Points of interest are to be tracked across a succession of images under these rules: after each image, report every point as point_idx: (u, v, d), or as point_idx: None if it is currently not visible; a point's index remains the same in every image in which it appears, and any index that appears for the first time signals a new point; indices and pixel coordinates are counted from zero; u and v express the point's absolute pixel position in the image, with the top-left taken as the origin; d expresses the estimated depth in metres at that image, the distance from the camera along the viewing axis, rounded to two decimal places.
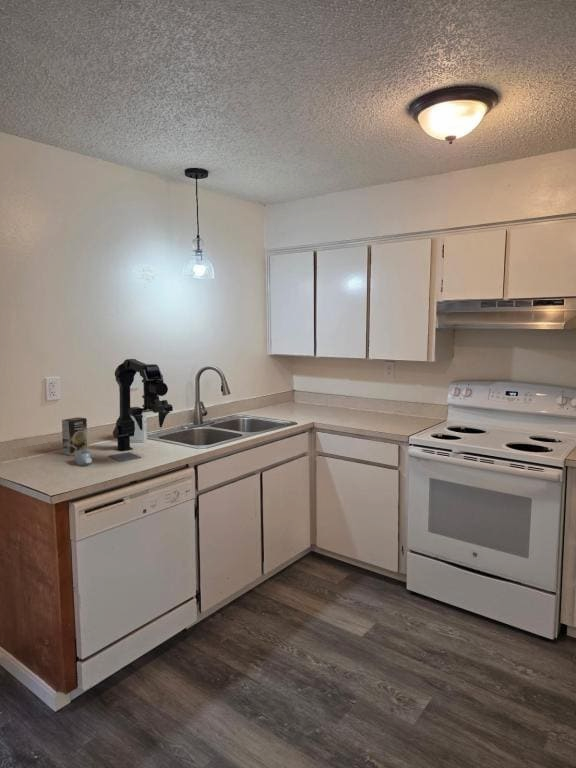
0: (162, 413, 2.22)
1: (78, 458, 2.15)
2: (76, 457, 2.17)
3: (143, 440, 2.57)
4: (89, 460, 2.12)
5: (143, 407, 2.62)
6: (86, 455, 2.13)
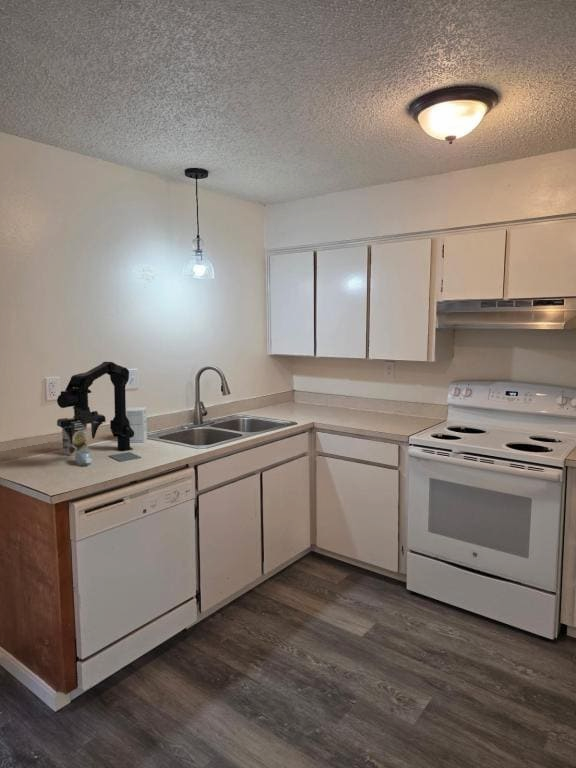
0: (94, 424, 2.18)
1: (78, 458, 2.15)
2: (76, 457, 2.17)
3: (143, 440, 2.57)
4: (89, 460, 2.12)
5: (143, 407, 2.62)
6: (86, 455, 2.13)
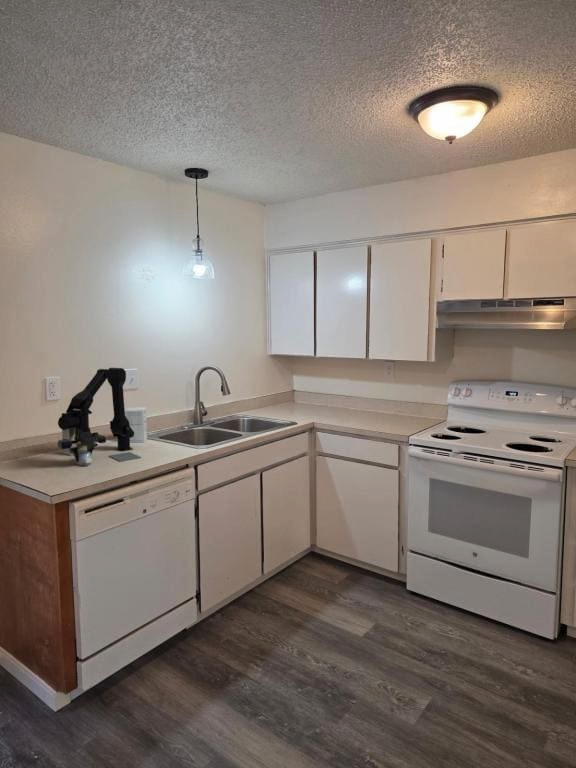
0: (90, 446, 2.18)
1: (78, 458, 2.15)
2: None
3: (143, 440, 2.57)
4: (89, 460, 2.12)
5: (143, 407, 2.62)
6: (86, 455, 2.13)
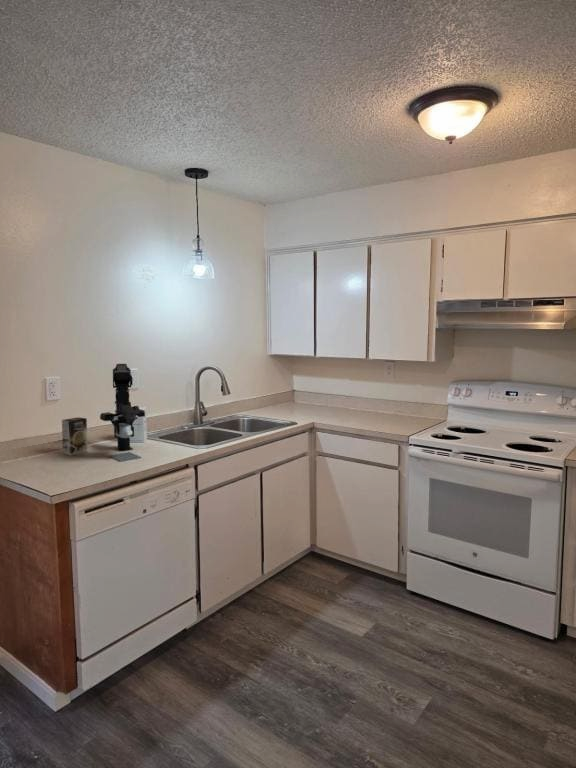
0: (130, 419, 2.27)
1: (119, 430, 2.24)
2: None
3: (143, 440, 2.57)
4: (130, 432, 2.22)
5: (143, 407, 2.62)
6: (127, 427, 2.23)
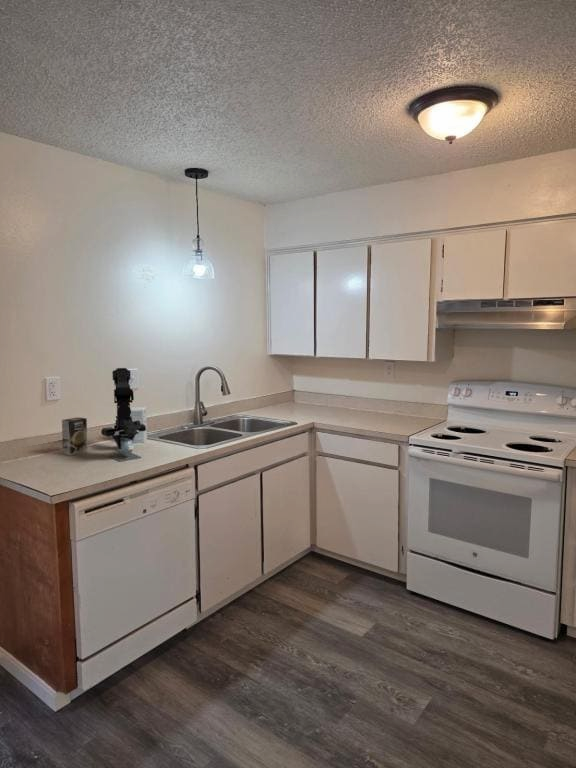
0: (131, 433, 2.28)
1: None
2: None
3: (143, 440, 2.57)
4: (131, 447, 2.23)
5: (143, 407, 2.62)
6: (128, 442, 2.24)
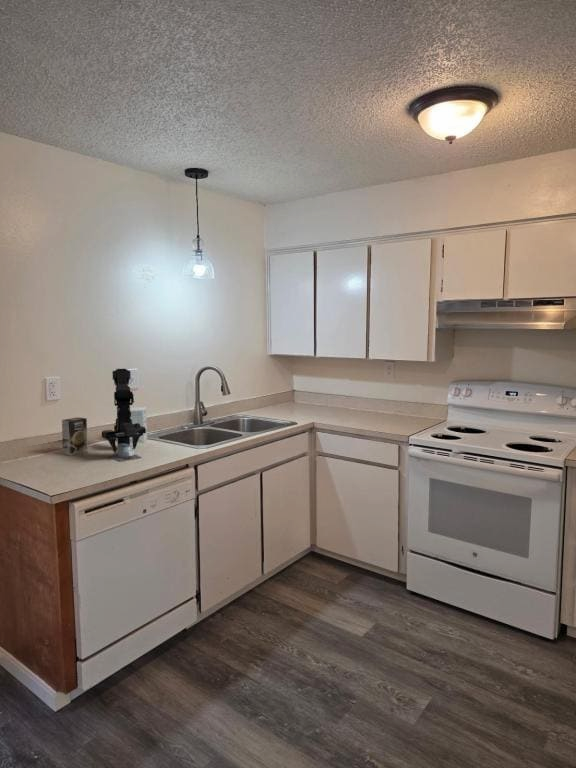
0: (135, 435, 2.30)
1: (120, 451, 2.26)
2: (118, 450, 2.28)
3: (143, 440, 2.57)
4: (131, 453, 2.23)
5: (143, 407, 2.62)
6: (128, 448, 2.24)
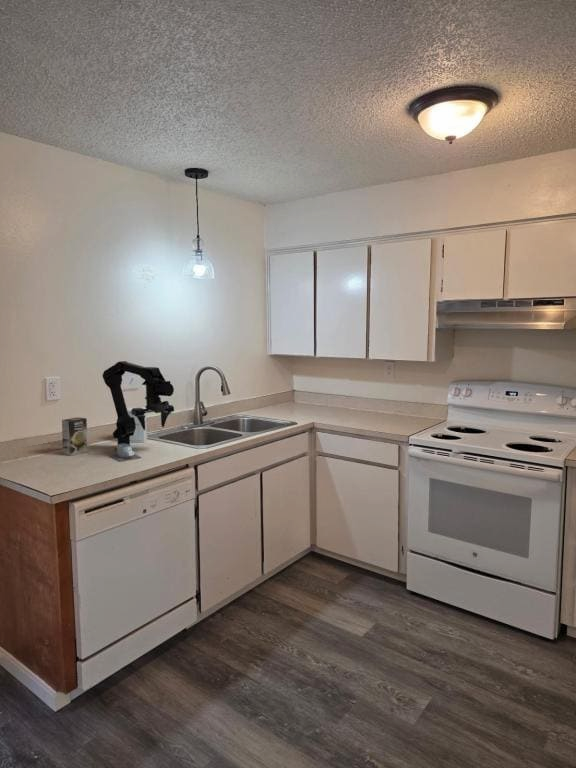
0: (164, 413, 2.34)
1: (120, 451, 2.26)
2: (118, 450, 2.28)
3: (143, 440, 2.57)
4: (131, 453, 2.23)
5: (143, 407, 2.62)
6: (128, 448, 2.24)
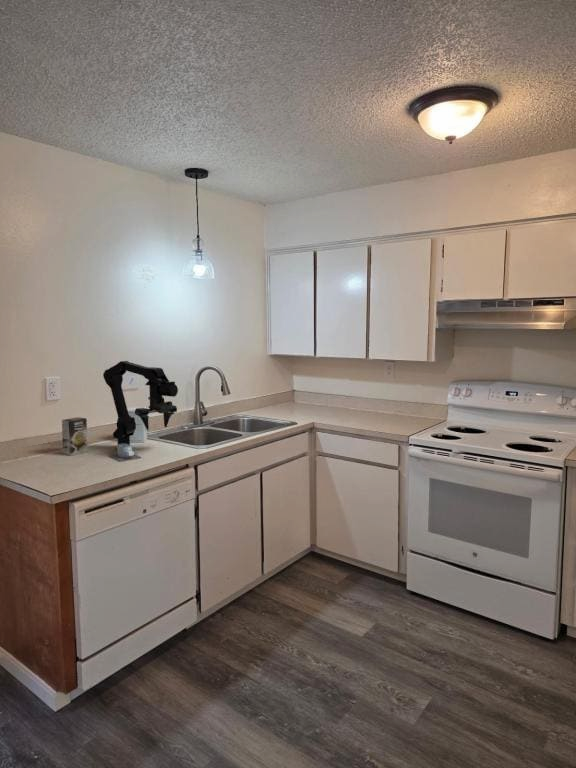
0: (167, 414, 2.35)
1: (120, 451, 2.26)
2: (118, 450, 2.28)
3: (143, 440, 2.57)
4: (131, 453, 2.23)
5: (143, 407, 2.62)
6: (128, 448, 2.24)
